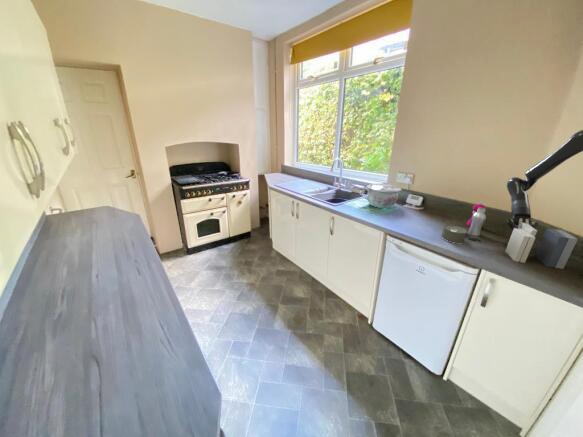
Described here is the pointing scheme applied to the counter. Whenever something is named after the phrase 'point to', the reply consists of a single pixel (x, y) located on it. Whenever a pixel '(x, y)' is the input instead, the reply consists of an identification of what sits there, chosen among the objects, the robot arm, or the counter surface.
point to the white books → (519, 245)
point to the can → (454, 233)
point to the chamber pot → (381, 195)
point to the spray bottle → (475, 211)
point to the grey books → (555, 248)
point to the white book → (529, 229)
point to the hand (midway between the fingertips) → (523, 238)
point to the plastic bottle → (477, 223)
